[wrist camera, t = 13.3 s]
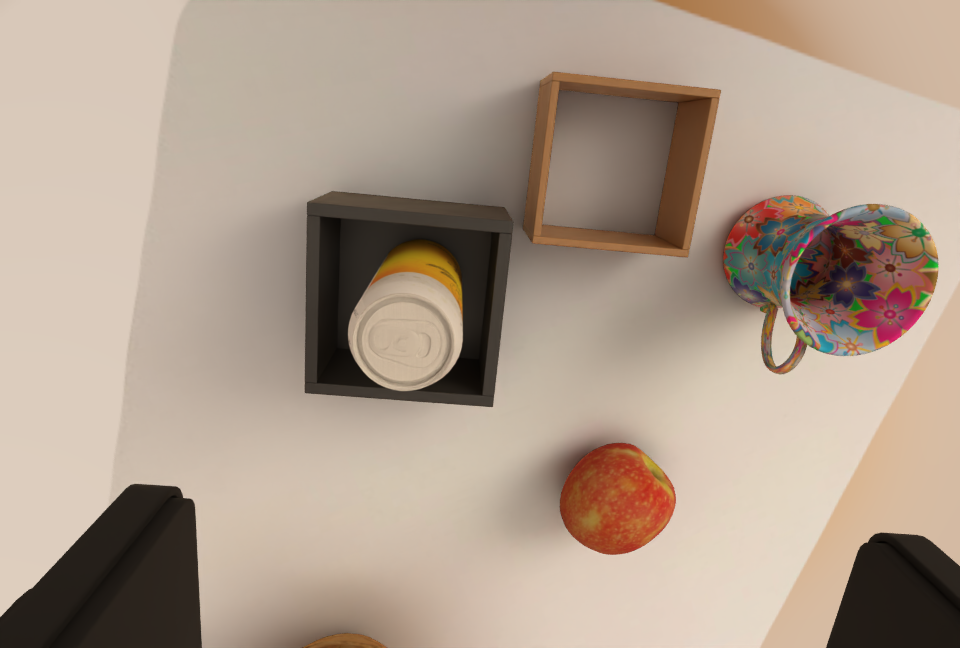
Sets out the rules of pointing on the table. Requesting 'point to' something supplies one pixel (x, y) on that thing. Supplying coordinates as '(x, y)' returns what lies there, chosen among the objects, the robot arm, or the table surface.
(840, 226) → the mug
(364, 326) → the beer can
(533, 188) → the wooden square frame
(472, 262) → the dark grey open box
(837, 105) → the table surface
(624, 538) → the apple
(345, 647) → the bowl
